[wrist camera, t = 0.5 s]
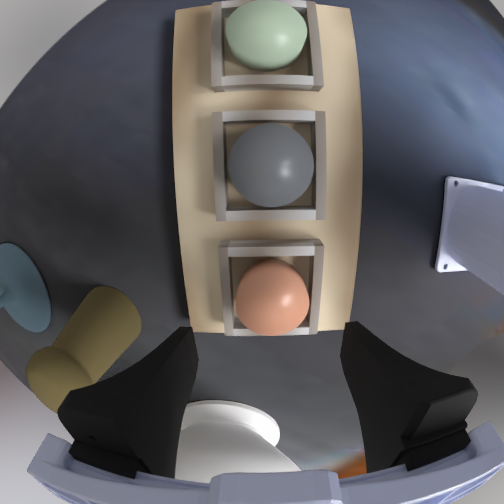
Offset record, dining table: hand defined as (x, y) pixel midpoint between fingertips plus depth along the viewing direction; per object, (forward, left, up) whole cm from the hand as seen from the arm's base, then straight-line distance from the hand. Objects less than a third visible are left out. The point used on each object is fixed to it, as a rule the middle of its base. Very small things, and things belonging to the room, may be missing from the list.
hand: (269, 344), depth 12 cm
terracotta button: (0, 0, -6) cm, 6 cm away
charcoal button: (0, -8, -6) cm, 10 cm away
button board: (0, -8, -8) cm, 11 cm away
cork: (+14, +4, -9) cm, 17 cm away
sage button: (0, -16, -6) cm, 17 cm away
